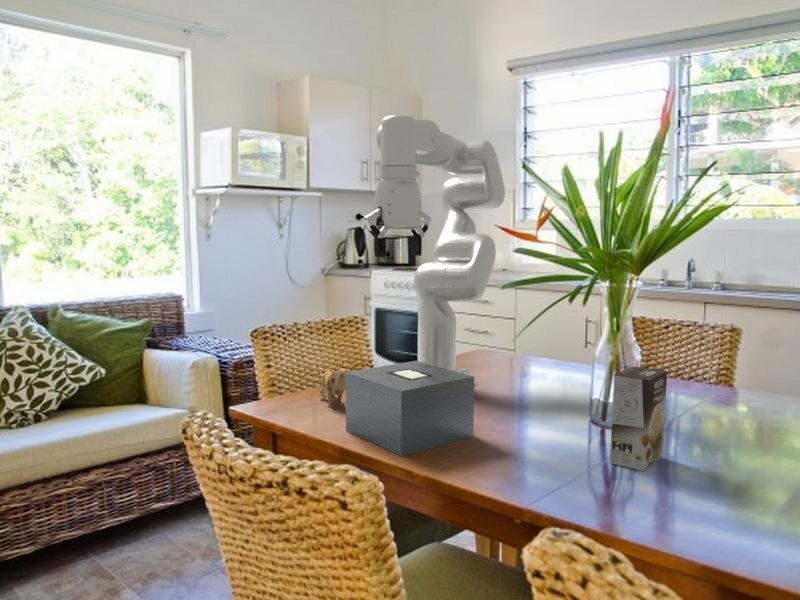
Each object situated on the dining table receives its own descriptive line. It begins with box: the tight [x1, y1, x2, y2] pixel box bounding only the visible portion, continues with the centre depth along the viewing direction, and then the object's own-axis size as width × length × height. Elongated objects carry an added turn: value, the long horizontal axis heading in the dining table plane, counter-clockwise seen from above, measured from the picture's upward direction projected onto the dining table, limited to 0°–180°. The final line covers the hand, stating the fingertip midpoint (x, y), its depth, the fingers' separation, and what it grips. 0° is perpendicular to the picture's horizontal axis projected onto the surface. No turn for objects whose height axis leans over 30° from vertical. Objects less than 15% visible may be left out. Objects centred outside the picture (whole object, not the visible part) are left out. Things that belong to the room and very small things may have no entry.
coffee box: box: [609, 366, 668, 472], centre depth 118 cm, size 9×6×16 cm
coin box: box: [345, 360, 475, 457], centre depth 133 cm, size 18×18×12 cm
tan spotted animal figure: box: [319, 368, 347, 408], centre depth 155 cm, size 15×5×9 cm, turn 29°
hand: (398, 256), depth 145 cm, fingers open, 9 cm apart
